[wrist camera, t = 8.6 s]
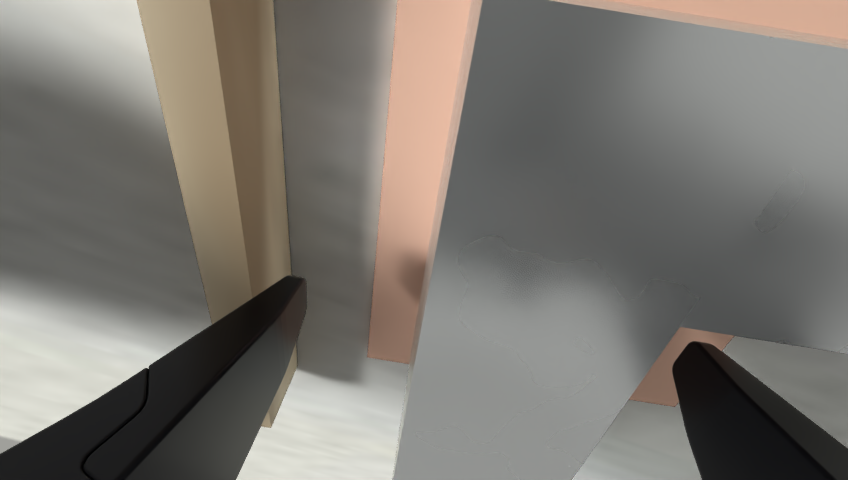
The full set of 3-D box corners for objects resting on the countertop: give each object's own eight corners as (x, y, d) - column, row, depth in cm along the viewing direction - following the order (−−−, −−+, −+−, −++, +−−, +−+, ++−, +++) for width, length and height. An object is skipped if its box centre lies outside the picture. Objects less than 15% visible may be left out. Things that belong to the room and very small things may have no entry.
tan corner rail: (266, 360, 15) (234, 422, 13) (150, -501, 5) (-50, -801, 3) (645, 421, 15) (673, 492, 13) (1232, -317, 5) (1713, -497, 3)
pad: (368, 350, 14) (367, 357, 14) (411, -137, 7) (409, -142, 7) (671, 399, 14) (674, 407, 14) (1025, -36, 7) (1045, -36, 7)
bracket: (474, -22, 8) (483, -10, 4) (886, 46, 8) (1373, 133, 4) (413, 335, 13) (389, 499, 9) (651, 373, 13) (734, 554, 9)
